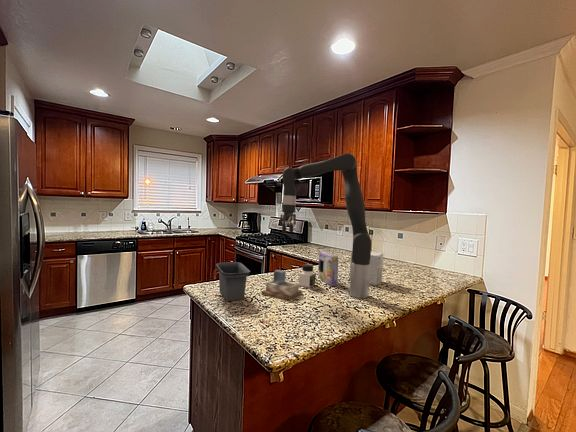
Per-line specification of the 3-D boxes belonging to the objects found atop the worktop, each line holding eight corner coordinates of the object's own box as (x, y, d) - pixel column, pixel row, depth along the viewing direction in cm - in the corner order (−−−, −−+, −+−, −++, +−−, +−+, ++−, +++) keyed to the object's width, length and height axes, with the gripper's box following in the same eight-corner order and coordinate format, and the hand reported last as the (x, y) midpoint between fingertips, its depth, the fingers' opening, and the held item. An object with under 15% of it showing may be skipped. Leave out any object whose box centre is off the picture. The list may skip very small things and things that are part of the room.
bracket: (291, 291, 152) (292, 272, 151) (288, 293, 149) (289, 273, 148) (276, 288, 156) (277, 269, 156) (273, 289, 153) (274, 271, 153)
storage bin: (251, 301, 139) (252, 271, 138) (218, 304, 133) (219, 273, 132) (239, 288, 158) (240, 261, 158) (209, 290, 152) (210, 263, 151)
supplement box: (382, 281, 187) (384, 253, 186) (376, 286, 176) (378, 256, 175) (355, 276, 196) (357, 249, 195) (348, 280, 185) (350, 252, 184)
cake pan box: (316, 277, 187) (318, 250, 186) (324, 277, 189) (325, 250, 188) (330, 286, 169) (331, 256, 168) (337, 286, 171) (339, 256, 170)
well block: (301, 293, 155) (302, 282, 155) (289, 300, 143) (289, 289, 142) (275, 287, 162) (276, 277, 162) (261, 294, 150) (262, 283, 150)
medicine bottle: (309, 287, 165) (310, 266, 164) (298, 285, 169) (299, 264, 168) (315, 285, 171) (316, 264, 171) (304, 282, 175) (305, 262, 174)
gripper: (289, 204, 157) (287, 234, 158) (300, 204, 170) (299, 232, 170) (276, 203, 161) (275, 233, 161) (289, 203, 173) (287, 231, 174)
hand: (287, 232), depth 166 cm, fingers open, 8 cm apart
